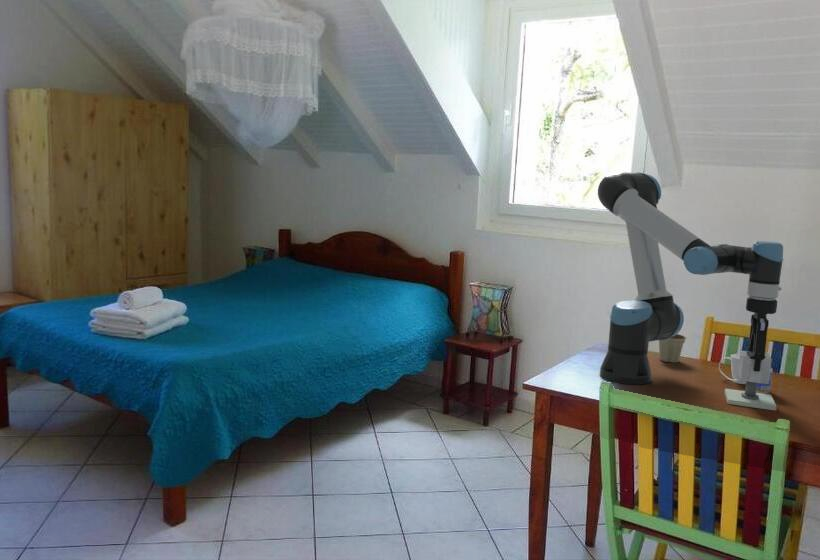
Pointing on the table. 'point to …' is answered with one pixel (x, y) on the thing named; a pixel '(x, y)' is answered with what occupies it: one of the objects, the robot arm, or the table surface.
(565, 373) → the table surface
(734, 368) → the cup
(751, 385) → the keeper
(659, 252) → the robot arm
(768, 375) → the hollow grey square tube
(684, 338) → the flower pot
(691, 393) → the table surface
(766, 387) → the pill bottle
